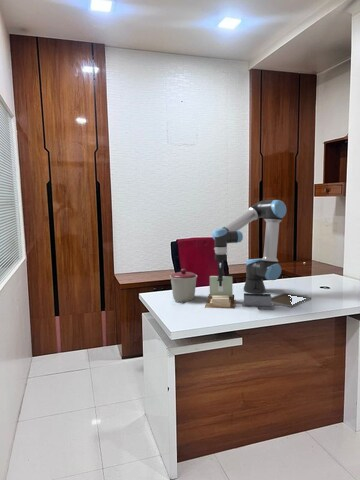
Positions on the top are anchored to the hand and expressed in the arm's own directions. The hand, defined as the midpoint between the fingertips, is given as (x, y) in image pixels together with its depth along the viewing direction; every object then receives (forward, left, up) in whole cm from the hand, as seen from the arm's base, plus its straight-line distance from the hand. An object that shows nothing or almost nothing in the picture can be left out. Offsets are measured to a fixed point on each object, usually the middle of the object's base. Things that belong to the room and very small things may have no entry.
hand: (221, 289), depth 221 cm
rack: (+3, +2, -9) cm, 10 cm away
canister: (+9, -24, -10) cm, 27 cm away
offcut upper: (+6, +4, -5) cm, 9 cm away
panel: (0, 0, -8) cm, 8 cm away
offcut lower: (+6, +4, -8) cm, 11 cm away
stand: (-9, +20, -9) cm, 24 cm away
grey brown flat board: (-34, +26, -10) cm, 44 cm away
